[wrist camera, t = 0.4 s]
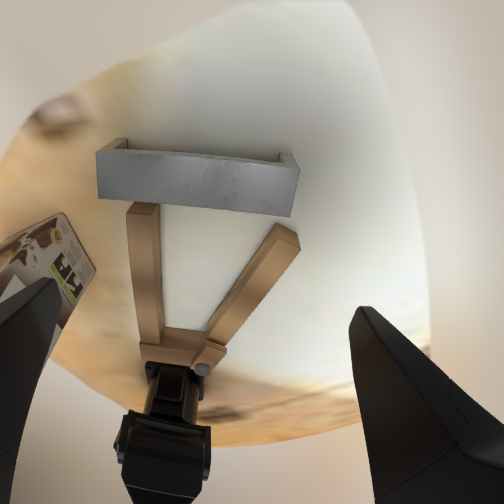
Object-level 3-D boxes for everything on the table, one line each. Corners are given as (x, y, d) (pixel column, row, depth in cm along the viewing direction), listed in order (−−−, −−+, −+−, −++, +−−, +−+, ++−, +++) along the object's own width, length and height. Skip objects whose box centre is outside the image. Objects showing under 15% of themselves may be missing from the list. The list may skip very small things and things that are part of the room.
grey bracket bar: (284, 195, 21) (289, 217, 19) (117, 179, 20) (98, 198, 18) (292, 153, 20) (299, 169, 17) (116, 138, 19) (95, 152, 16)
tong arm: (210, 348, 30) (207, 378, 27) (194, 342, 29) (189, 372, 26) (297, 234, 23) (304, 263, 20) (276, 223, 22) (280, 251, 19)
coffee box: (62, 208, 22) (-61, 365, 8) (98, 271, 25) (20, 438, 11) (2, 238, 23) (-94, 361, 9) (35, 289, 26) (-37, 419, 13)
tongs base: (214, 348, 30) (212, 368, 28) (147, 340, 30) (142, 359, 28) (228, 208, 22) (225, 225, 20) (134, 199, 21) (123, 215, 19)
